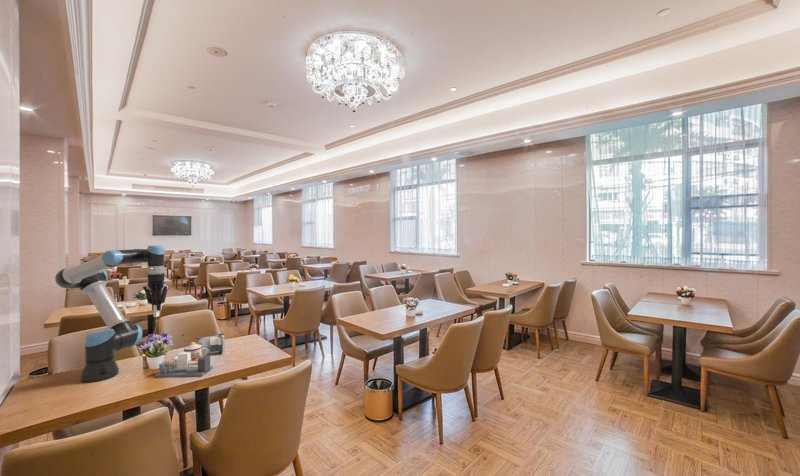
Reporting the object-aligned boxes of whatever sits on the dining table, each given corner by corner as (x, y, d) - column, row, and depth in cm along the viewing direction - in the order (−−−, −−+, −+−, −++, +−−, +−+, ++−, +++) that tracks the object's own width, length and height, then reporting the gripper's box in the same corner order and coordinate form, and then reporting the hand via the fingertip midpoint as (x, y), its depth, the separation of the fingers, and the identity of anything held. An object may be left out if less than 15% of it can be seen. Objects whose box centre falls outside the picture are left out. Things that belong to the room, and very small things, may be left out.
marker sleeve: (177, 368, 187) (177, 354, 187) (181, 365, 191) (181, 352, 191) (187, 368, 187) (186, 354, 187) (191, 365, 191) (191, 351, 191)
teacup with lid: (186, 366, 198) (185, 346, 198) (182, 362, 204) (181, 342, 204) (209, 361, 206) (209, 341, 206) (205, 357, 213) (204, 338, 212)
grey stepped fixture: (155, 377, 183) (155, 361, 183) (168, 369, 194) (168, 354, 194) (202, 376, 184) (202, 361, 184) (212, 368, 195) (212, 354, 195)
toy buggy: (193, 361, 206) (193, 341, 206) (191, 357, 213) (191, 338, 213) (227, 354, 217) (227, 335, 217) (223, 350, 225) (223, 332, 225)
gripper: (139, 274, 189) (139, 318, 189) (163, 274, 190) (164, 317, 190) (148, 272, 197) (149, 315, 197) (172, 272, 197) (172, 314, 197)
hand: (156, 316), depth 193 cm, fingers closed
